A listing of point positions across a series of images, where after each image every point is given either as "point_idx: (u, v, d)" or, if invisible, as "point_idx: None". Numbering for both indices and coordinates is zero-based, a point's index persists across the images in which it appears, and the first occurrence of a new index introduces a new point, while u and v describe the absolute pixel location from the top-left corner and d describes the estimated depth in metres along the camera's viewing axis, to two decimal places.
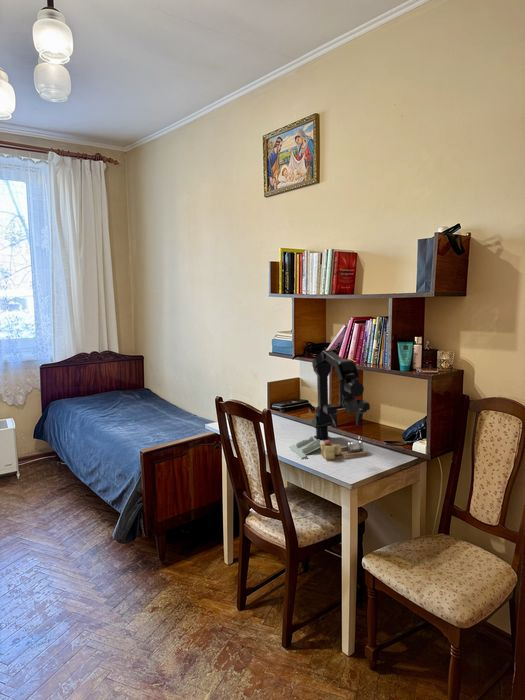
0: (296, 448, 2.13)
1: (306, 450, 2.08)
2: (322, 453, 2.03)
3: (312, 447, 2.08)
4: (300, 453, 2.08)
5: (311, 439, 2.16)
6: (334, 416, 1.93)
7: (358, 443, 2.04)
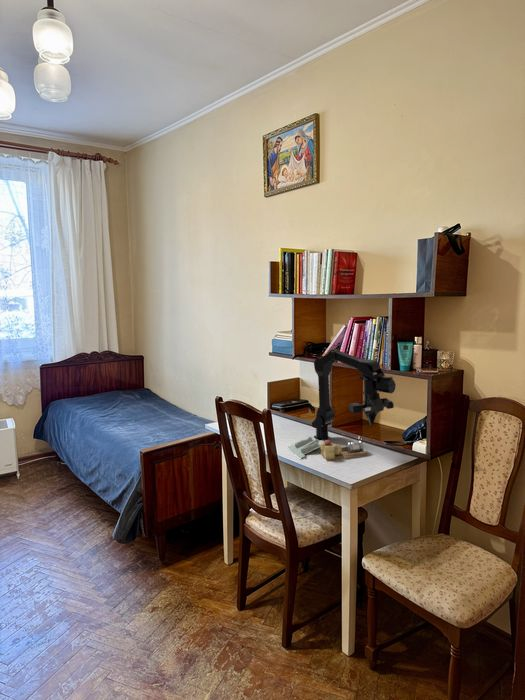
0: (295, 448, 2.13)
1: (305, 450, 2.08)
2: (322, 453, 2.03)
3: (311, 447, 2.08)
4: (298, 453, 2.08)
5: (309, 439, 2.16)
6: (369, 413, 2.02)
7: (358, 443, 2.04)
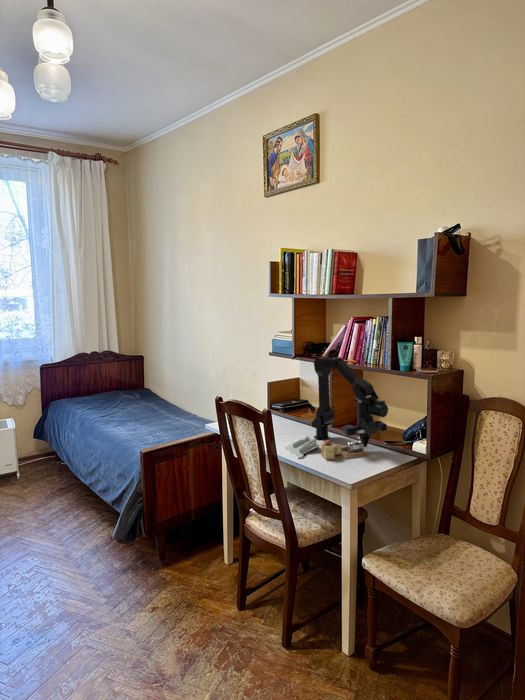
0: (292, 448, 2.14)
1: (303, 450, 2.08)
2: (322, 453, 2.03)
3: (309, 447, 2.09)
4: (297, 452, 2.08)
5: (307, 439, 2.16)
6: (363, 435, 2.03)
7: (358, 443, 2.04)
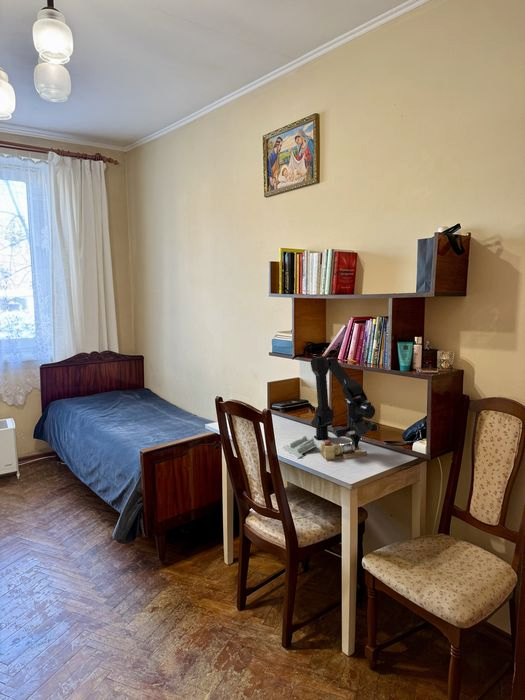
0: (290, 448, 2.14)
1: (301, 450, 2.08)
2: (322, 453, 2.03)
3: (307, 446, 2.09)
4: (295, 452, 2.09)
5: (304, 439, 2.17)
6: (354, 436, 2.02)
7: (349, 444, 2.03)
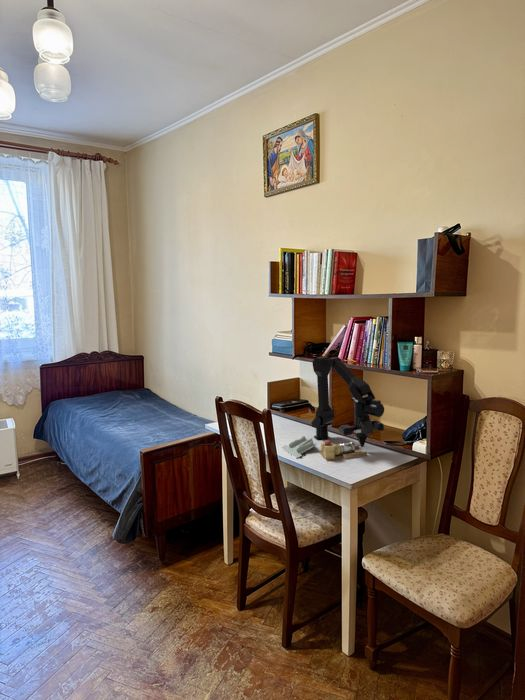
0: (289, 448, 2.14)
1: (300, 449, 2.09)
2: (322, 453, 2.03)
3: (306, 446, 2.10)
4: (294, 452, 2.09)
5: (303, 438, 2.17)
6: (360, 435, 2.03)
7: (349, 444, 2.03)
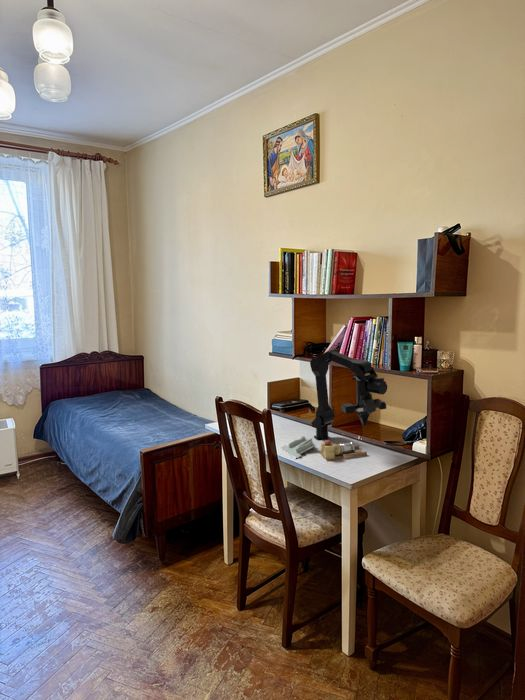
0: (289, 448, 2.14)
1: (300, 450, 2.08)
2: (322, 453, 2.03)
3: (305, 446, 2.09)
4: (294, 453, 2.09)
5: (303, 439, 2.17)
6: (362, 414, 2.02)
7: (349, 444, 2.03)
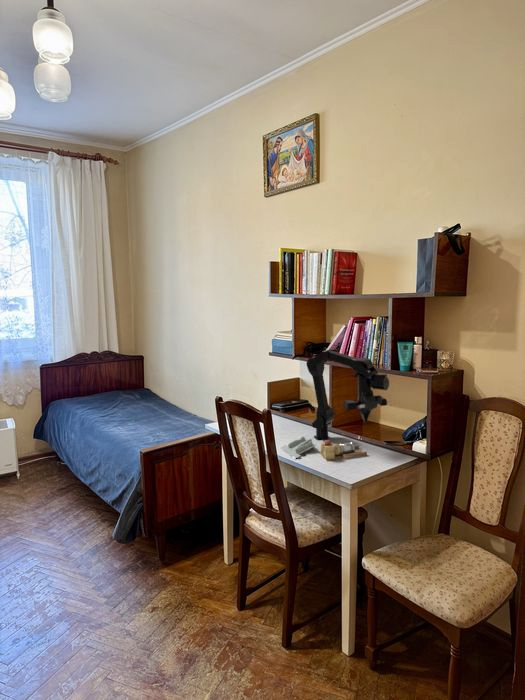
0: (288, 448, 2.13)
1: (299, 450, 2.08)
2: (322, 453, 2.03)
3: (305, 447, 2.09)
4: (293, 453, 2.08)
5: (302, 439, 2.16)
6: (363, 410, 2.07)
7: (349, 444, 2.03)
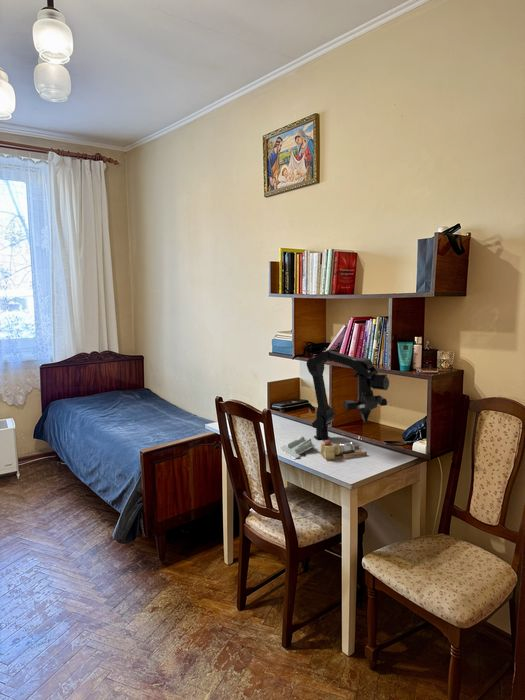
0: (288, 449, 2.13)
1: (299, 450, 2.08)
2: (322, 453, 2.03)
3: (305, 447, 2.09)
4: (293, 453, 2.08)
5: (302, 439, 2.16)
6: (363, 410, 2.07)
7: (349, 444, 2.03)
